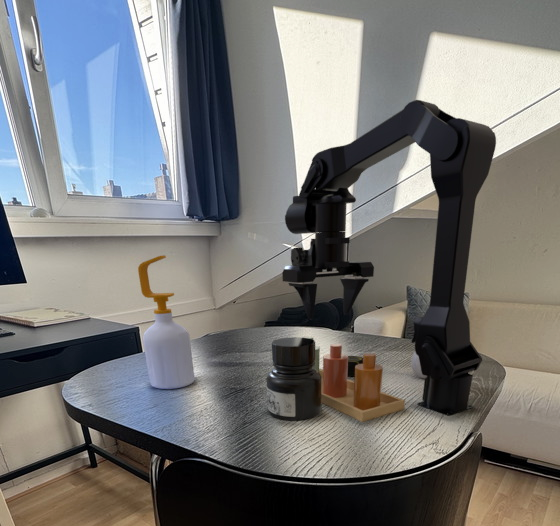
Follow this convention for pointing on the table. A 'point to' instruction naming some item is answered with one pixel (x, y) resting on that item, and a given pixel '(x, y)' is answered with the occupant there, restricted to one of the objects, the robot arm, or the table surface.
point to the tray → (346, 406)
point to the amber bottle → (367, 383)
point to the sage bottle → (316, 355)
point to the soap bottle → (165, 341)
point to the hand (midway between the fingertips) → (328, 316)
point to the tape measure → (353, 364)
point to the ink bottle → (294, 380)
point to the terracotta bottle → (335, 372)
